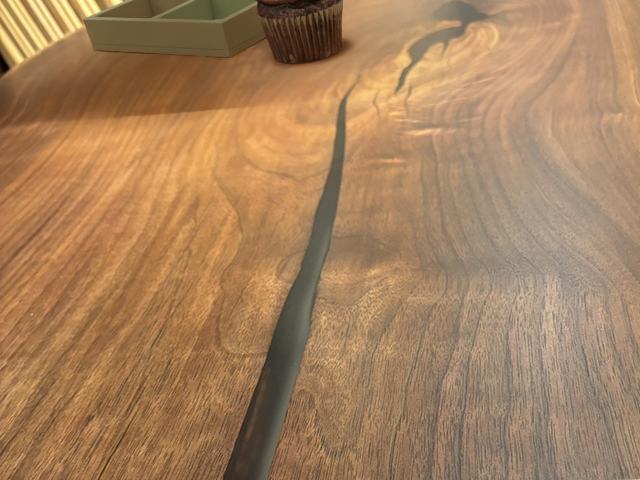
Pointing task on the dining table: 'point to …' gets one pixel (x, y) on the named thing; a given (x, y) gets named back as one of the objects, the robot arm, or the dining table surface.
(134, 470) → the dining table surface
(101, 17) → the holder
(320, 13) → the cupcake
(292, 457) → the dining table surface
